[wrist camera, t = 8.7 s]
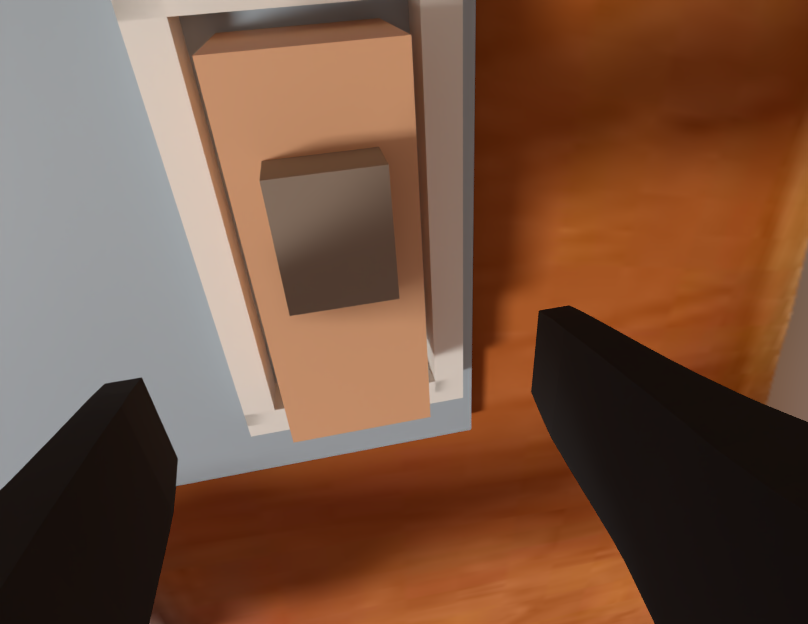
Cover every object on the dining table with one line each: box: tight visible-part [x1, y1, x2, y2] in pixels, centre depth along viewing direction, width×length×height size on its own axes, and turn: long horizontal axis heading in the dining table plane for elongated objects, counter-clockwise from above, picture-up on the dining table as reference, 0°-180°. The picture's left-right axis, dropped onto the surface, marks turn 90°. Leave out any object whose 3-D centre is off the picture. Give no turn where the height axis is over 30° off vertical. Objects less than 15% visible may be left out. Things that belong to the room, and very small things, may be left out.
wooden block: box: [192, 18, 431, 443], centre depth 14 cm, size 10×4×5 cm, turn 4°
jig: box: [0, 0, 476, 490], centre depth 16 cm, size 18×19×2 cm
